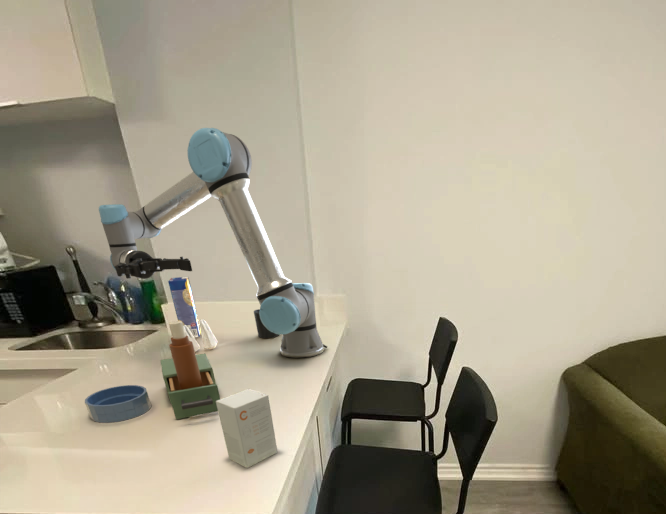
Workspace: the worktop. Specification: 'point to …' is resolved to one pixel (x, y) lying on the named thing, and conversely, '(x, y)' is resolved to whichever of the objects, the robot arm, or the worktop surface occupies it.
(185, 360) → the bottle
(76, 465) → the worktop surface
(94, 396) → the bowl
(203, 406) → the drawer
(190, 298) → the beverage box
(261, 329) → the pen holder
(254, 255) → the robot arm
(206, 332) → the shaker set
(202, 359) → the cabinet
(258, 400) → the small box
